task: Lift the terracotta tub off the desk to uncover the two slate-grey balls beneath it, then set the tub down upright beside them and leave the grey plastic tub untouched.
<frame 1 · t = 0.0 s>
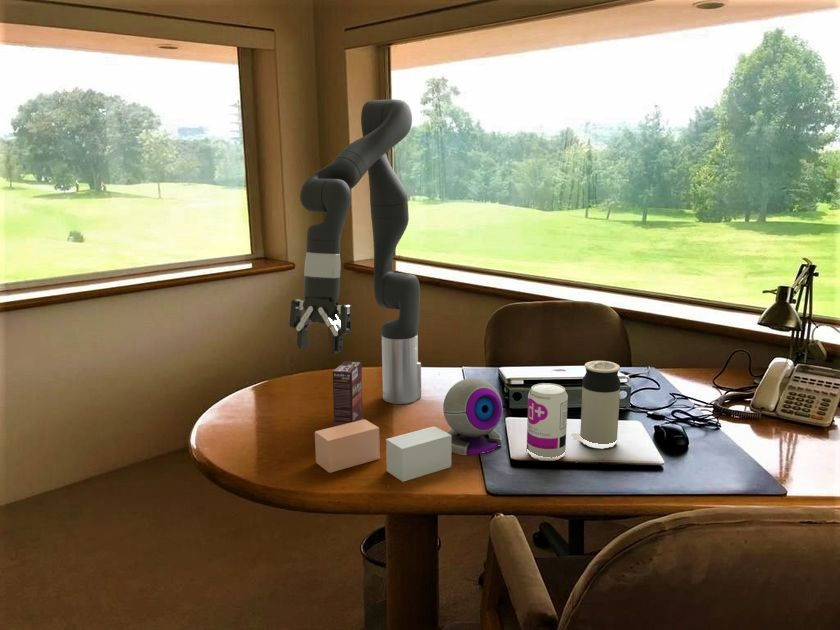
hand: (319, 350, 156), 22 cm above the table, tool pointing down, fingers open, 8 cm apart
supplement box: (349, 432, 171), on the table
terracotta tub: (348, 460, 155), on the table
supplement can: (545, 455, 157), on the table
slate ball C: (419, 460, 150), in the grey plastic tub
webcam: (472, 444, 163), on the table
slate ball B: (337, 463, 154), on the table
grey plastic tub: (419, 468, 151), on the table
slate ball A: (358, 457, 156), on the table
travel mug: (598, 443, 163), on the table
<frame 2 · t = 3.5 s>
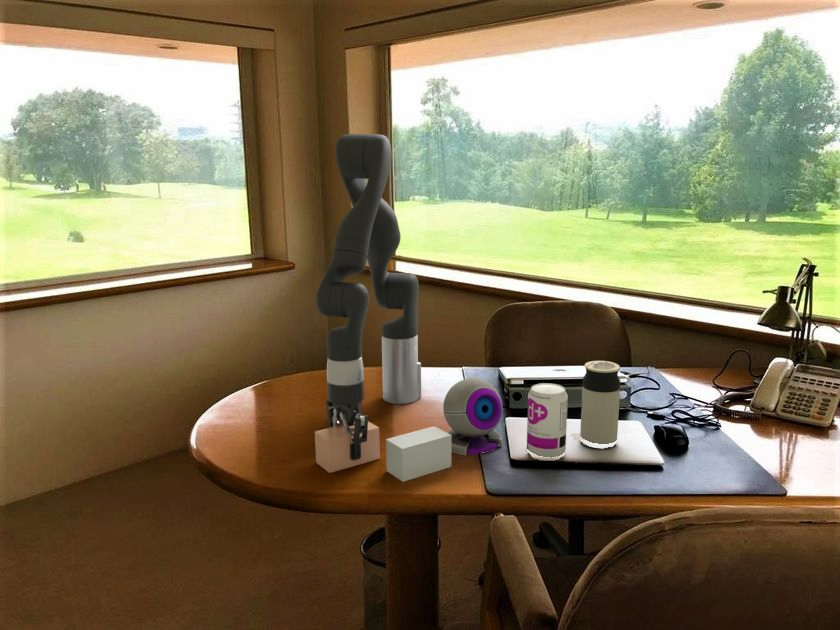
hand: (347, 453, 155), 2 cm above the table, tool pointing down, fingers closed on terracotta tub, 6 cm apart
terracotta tub: (348, 460, 155), on the table, touching gripper
everything else where it was.
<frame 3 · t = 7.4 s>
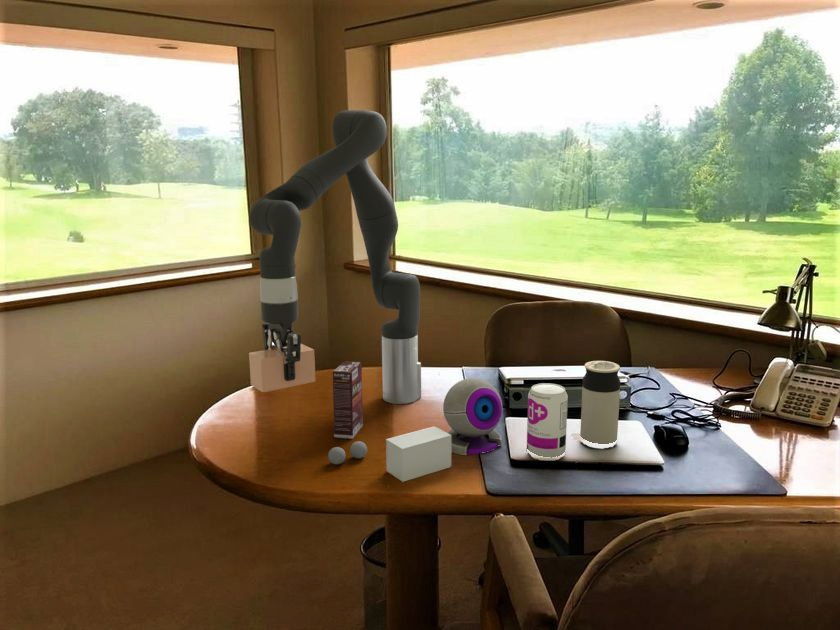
hand: (282, 375, 154), 18 cm above the table, tool pointing down, fingers closed on terracotta tub, 6 cm apart
terracotta tub: (283, 383, 155), point 16 cm above the table, touching gripper
everything else where it was.
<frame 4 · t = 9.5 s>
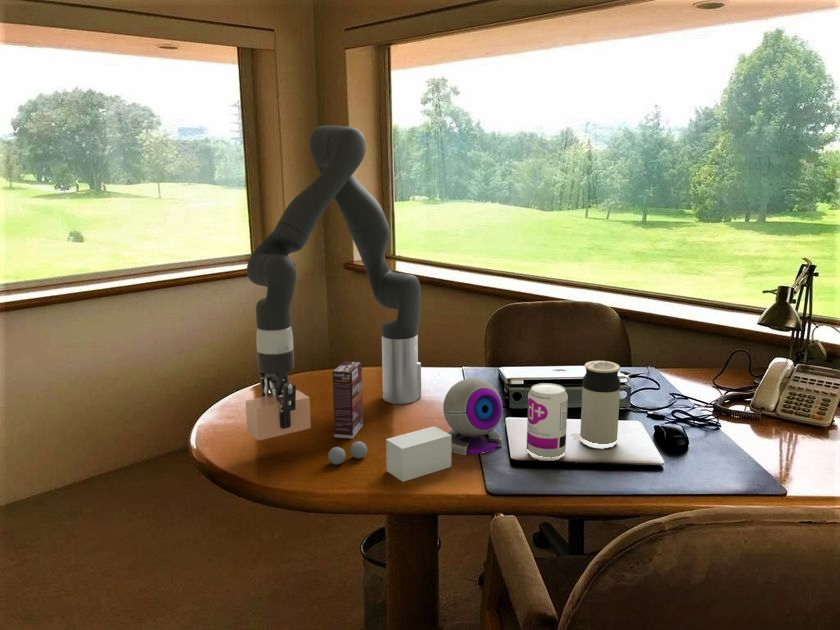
hand: (279, 422, 158), 7 cm above the table, tool pointing down, fingers closed on terracotta tub, 6 cm apart
terracotta tub: (279, 429, 158), point 5 cm above the table, touching gripper
everything else where it was.
when the fingers open (3 cm above the table, at t = 11.3 s): terracotta tub drops 1 cm, on the table.
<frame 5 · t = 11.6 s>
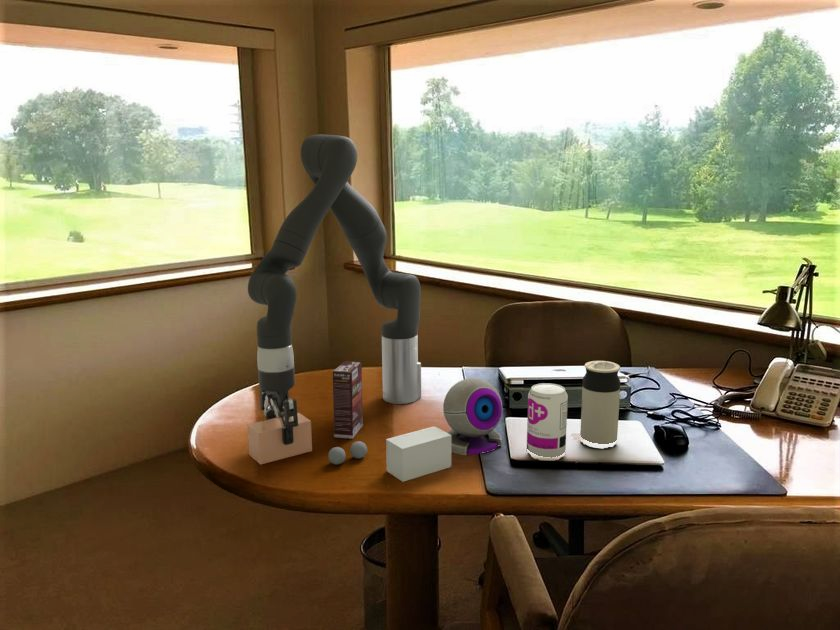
hand: (279, 437, 158), 4 cm above the table, tool pointing down, fingers open, 8 cm apart
terracotta tub: (281, 452, 159), on the table
everything else where it was.
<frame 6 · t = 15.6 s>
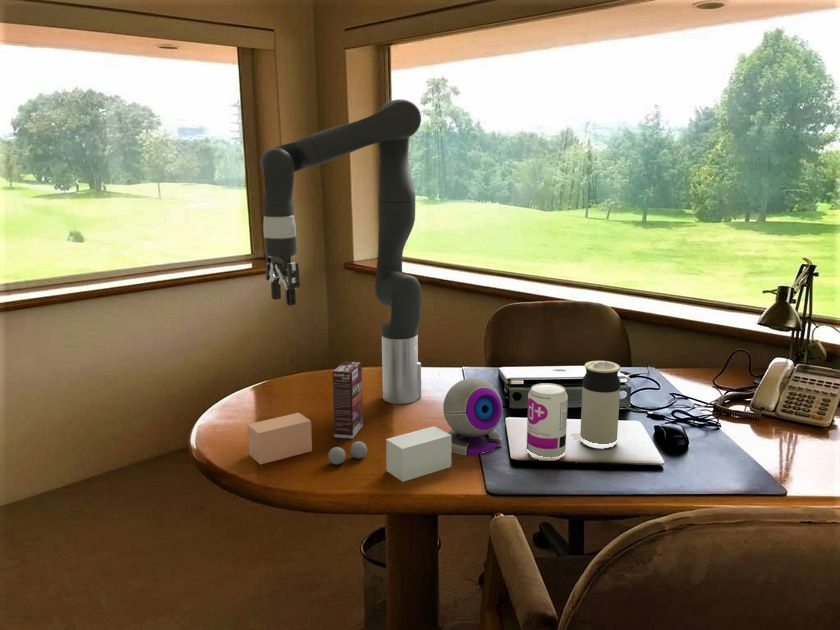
hand: (283, 302, 177), 28 cm above the table, tool pointing down, fingers open, 8 cm apart
nothing on the table moved.
at the end: terracotta tub inside the target area (0.0 cm from its centre), on the table; terracotta tub tilted 0°; grey plastic tub moved 0.0 cm from its start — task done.
